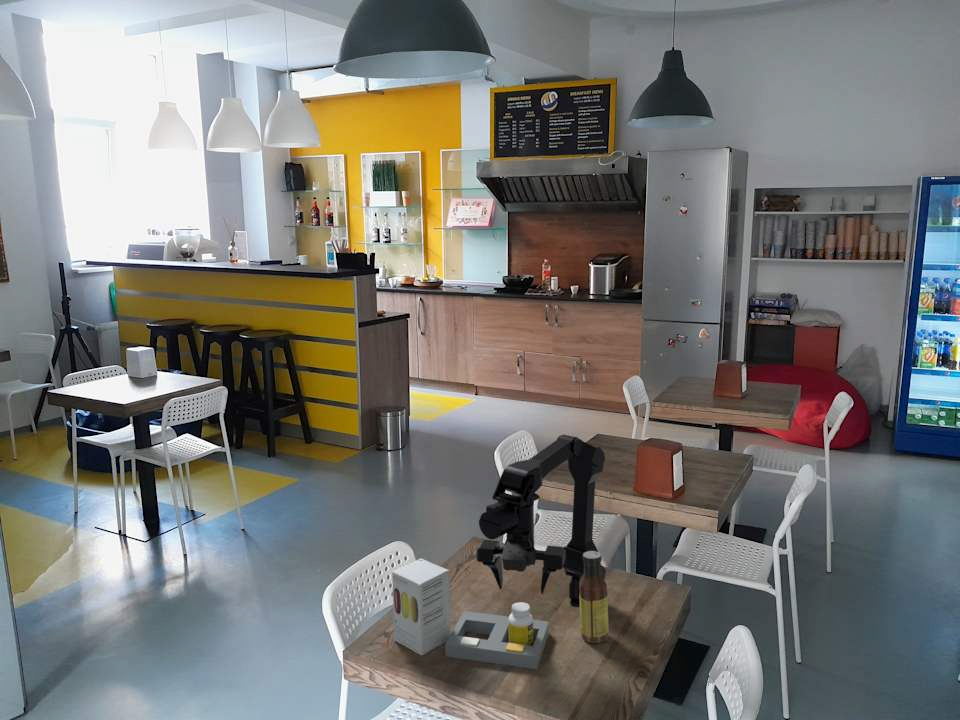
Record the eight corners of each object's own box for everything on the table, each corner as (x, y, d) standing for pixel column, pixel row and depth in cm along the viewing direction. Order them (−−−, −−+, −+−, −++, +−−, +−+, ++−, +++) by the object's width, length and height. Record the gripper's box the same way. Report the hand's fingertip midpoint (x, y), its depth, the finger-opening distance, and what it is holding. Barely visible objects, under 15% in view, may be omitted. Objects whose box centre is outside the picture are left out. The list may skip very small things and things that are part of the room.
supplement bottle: (531, 656, 158) (531, 614, 156) (506, 653, 159) (506, 611, 157) (535, 642, 163) (534, 601, 161) (510, 639, 164) (510, 599, 162)
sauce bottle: (610, 632, 166) (611, 550, 163) (605, 647, 161) (606, 562, 157) (581, 627, 169) (582, 546, 165) (576, 642, 163) (576, 558, 159)
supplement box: (393, 641, 165) (389, 571, 162) (422, 624, 171) (420, 556, 168) (422, 656, 158) (419, 584, 155) (452, 638, 165) (450, 569, 162)
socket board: (548, 633, 166) (548, 620, 166) (536, 669, 153) (536, 654, 152) (464, 622, 172) (463, 609, 171) (445, 656, 158) (445, 642, 158)
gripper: (468, 535, 152) (470, 604, 155) (557, 543, 147) (558, 614, 150) (482, 514, 163) (483, 579, 166) (566, 521, 158) (566, 588, 161)
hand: (521, 590), depth 160 cm, fingers open, 9 cm apart
